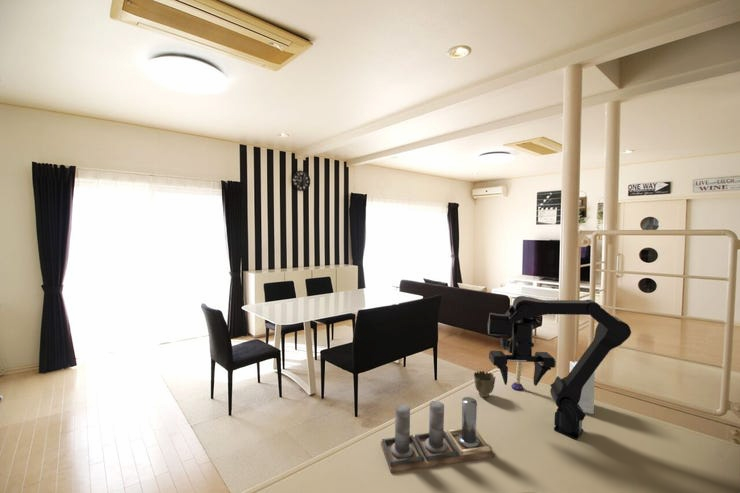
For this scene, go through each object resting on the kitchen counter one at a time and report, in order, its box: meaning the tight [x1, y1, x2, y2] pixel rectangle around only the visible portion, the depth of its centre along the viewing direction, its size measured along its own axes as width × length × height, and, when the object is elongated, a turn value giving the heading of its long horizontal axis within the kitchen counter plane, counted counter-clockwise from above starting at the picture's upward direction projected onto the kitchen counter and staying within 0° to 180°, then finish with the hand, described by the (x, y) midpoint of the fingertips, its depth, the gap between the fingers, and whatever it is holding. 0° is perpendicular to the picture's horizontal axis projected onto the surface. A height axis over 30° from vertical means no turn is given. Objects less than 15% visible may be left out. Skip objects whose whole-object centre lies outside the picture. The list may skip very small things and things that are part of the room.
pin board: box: [380, 400, 495, 473], centre depth 94 cm, size 30×11×14 cm, turn 102°
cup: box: [473, 370, 496, 399], centre depth 123 cm, size 8×7×8 cm
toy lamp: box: [511, 362, 524, 392], centre depth 128 cm, size 5×5×17 cm
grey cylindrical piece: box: [458, 396, 480, 449], centre depth 96 cm, size 6×6×12 cm
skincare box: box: [569, 360, 596, 415], centre depth 116 cm, size 8×6×15 cm
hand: (520, 384), depth 106 cm, fingers open, 9 cm apart
